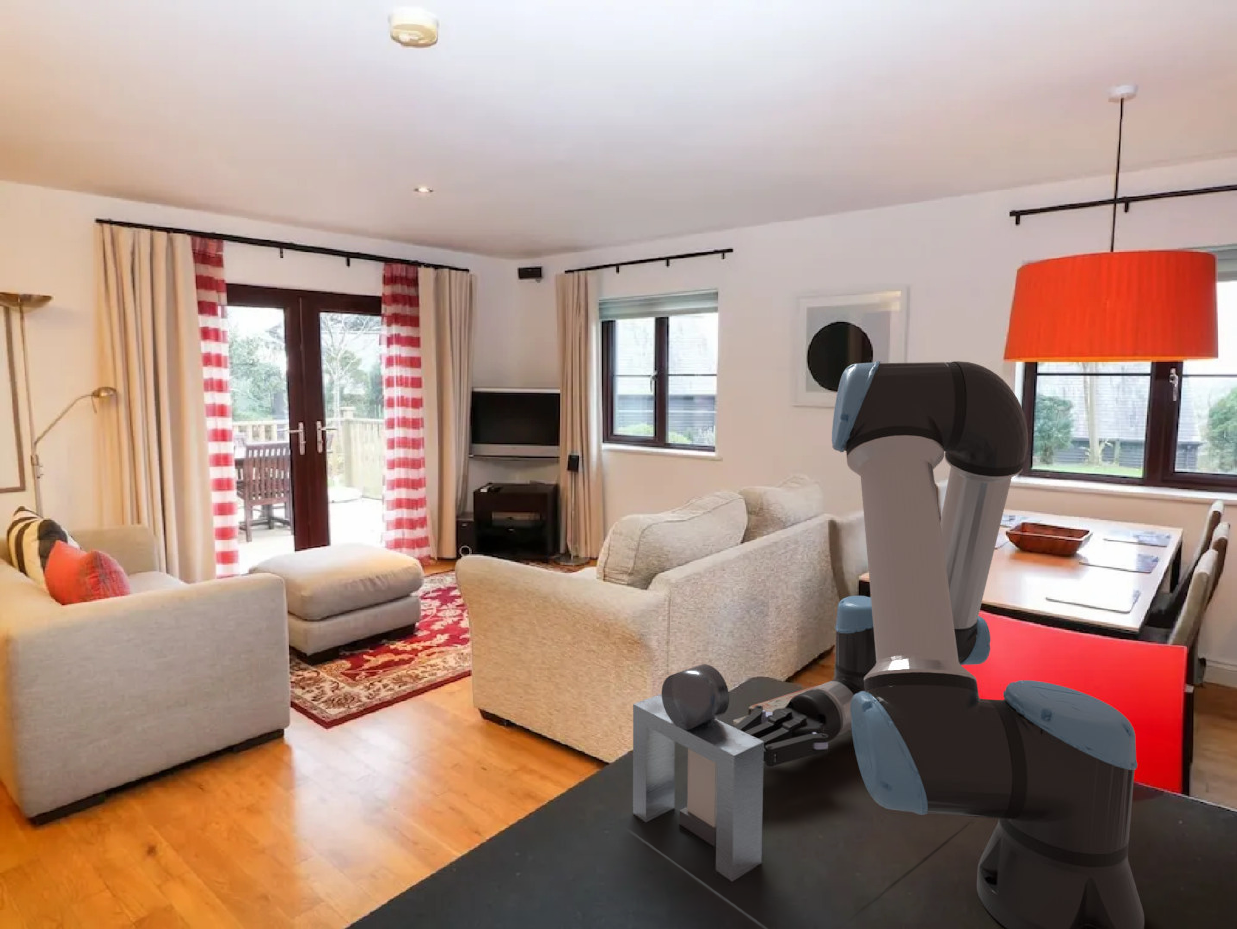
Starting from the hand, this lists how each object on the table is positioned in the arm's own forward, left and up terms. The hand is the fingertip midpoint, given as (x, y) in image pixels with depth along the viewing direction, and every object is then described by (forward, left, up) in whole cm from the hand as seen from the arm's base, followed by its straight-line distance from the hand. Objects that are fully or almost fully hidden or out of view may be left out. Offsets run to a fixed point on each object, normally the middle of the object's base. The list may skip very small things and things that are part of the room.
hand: (711, 765), depth 95 cm
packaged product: (+8, -28, -7) cm, 30 cm away
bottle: (-3, +3, -6) cm, 7 cm away
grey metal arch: (-3, +6, -6) cm, 9 cm away
